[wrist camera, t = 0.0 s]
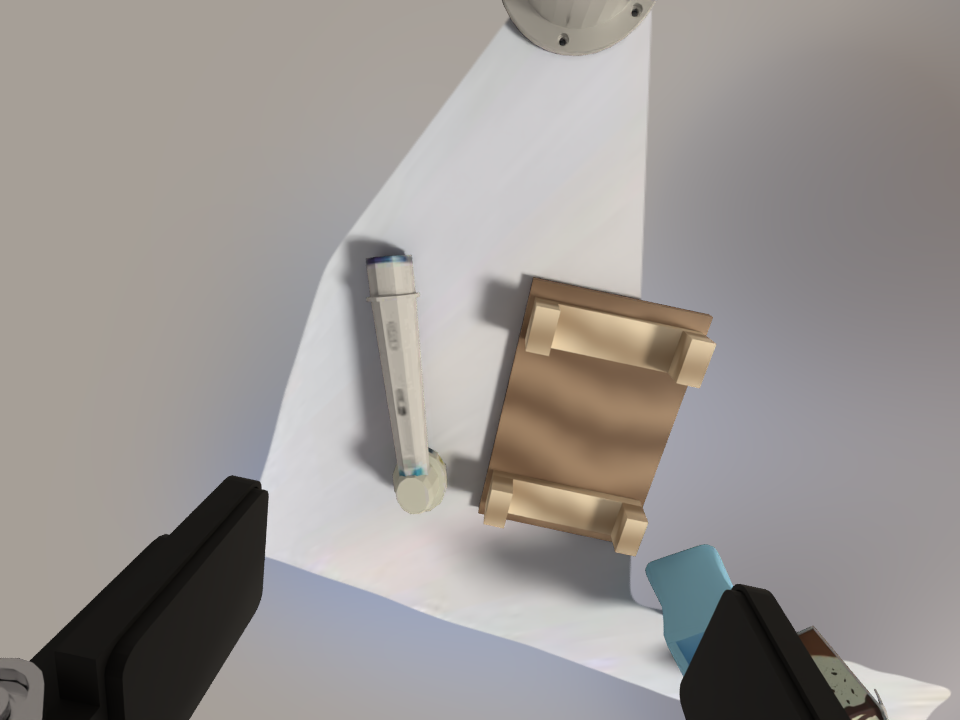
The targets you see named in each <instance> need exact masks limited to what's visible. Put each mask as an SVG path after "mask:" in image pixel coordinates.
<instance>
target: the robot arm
mask: <svg viewBox="0 0 960 720" xmlns="http://www.w3.org/2000/svg"><path fill="white" fill-rule="evenodd" d="M502 2H503V5H504V7H505V9H506V11H507V13H508V15H509V16H510V18H511V20H512V22H513V23H514V24H515V25H516V27H517V28H518V29H519V30H520V32H521V33H522V34H523V35H524V36H526V37H527V38H528V39H529V40H530V41H532V42H533V43H534V44H536V45H538V46H539V47H541V48H543V49H545V50H547V51H549V52H553V53H557V54H561V55H568V56H582V55H588V54H594V53H597V52H600V51H602V50H605V49H607V48H610V47H612V46H613V45H615V44H616V43H618V42H619V41H621V40H623V39H624V38H626V37H627V36H628V35H629V34H630V33H631V32H632V31H633V30H634V29H635V28H636V27H638V26H639V24H640V23H641V22H642V21H643V19H644V18H645V17H646V16H647V14H648V13H649V11H650V10H651V8H652V7H653V5H654V4H655V2H656V0H502ZM634 10H635V11H636V12H637V16H636V17H633V16H632V15H631V12H632V11H634ZM561 39H564V40H565V41H566V44H565V45H564V46H561V45H560V44H559V41H560V40H561ZM268 498H269V496H268V491H266V490H262V488H261V483H260V482H259V481H256V480H251V479H246V478H242V477H237V476H233V475H232V476H229V477H227V478H226V479H225V480H224V481H223V482H222V483H221V484H220V485H219V486H218V487H217V488H216V489H215V490H214V491H213V492H212V493H211V494H210V495H209V496H208V497H207V498H206V499H205V500H204V501H203V502H202V503H201V504H200V505H199V506H198V507H197V508H196V509H195V510H194V511H193V512H192V513H191V514H190V515H189V516H188V517H187V518H186V519H185V520H184V521H183V522H182V523H181V524H180V525H179V526H178V527H177V528H176V529H175V530H174V531H173V532H172V533H171V534H170V535H168V534H164V535H162V536H159V537H158V538H157V539H155V540H154V541H153V542H152V543H151V544H150V545H149V546H147V547H146V548H145V549H144V550H143V551H142V552H141V553H140V554H139V555H138V556H137V557H136V558H135V559H134V560H133V561H132V562H131V563H130V564H129V565H128V566H127V567H126V568H125V569H124V570H123V571H122V572H121V573H120V574H119V575H118V576H117V577H116V578H114V579H113V580H112V581H111V583H109V584H108V585H107V586H106V587H105V588H104V589H103V590H102V591H101V592H100V593H99V594H98V595H97V596H96V597H95V598H94V599H93V600H92V601H91V602H90V603H89V604H88V605H87V606H86V607H85V608H84V609H83V610H82V611H80V613H78V614H77V615H76V616H75V617H74V618H73V619H72V620H71V621H70V622H69V623H68V624H67V625H66V626H65V627H64V628H63V629H62V630H61V631H60V632H59V633H58V634H57V635H56V636H55V637H54V638H53V639H52V640H51V641H50V642H49V643H48V644H47V645H46V646H44V647H43V648H42V649H41V650H40V652H38V653H37V654H36V655H35V656H34V657H33V658H32V659H31V660H30V661H26V660H23V659H20V658H0V720H189V719H190V718H191V716H192V714H193V713H194V711H195V709H196V708H197V706H198V705H199V703H200V701H201V700H202V698H203V696H204V695H205V693H206V692H207V690H208V688H209V687H210V685H211V684H212V682H213V680H214V679H215V677H216V675H217V674H218V672H219V671H220V669H221V667H222V666H223V664H224V662H225V661H226V659H227V658H228V656H229V654H230V653H231V651H232V649H233V648H234V646H235V645H236V643H237V641H238V640H239V638H240V636H241V635H242V633H243V632H244V630H245V628H246V627H247V625H248V623H249V622H250V620H251V619H252V617H253V615H254V614H255V612H256V610H257V608H258V606H259V603H260V600H261V597H262V591H263V575H264V560H265V545H266V529H267V513H268ZM680 702H681V705H682V709H683V712H684V715H685V718H686V720H851V719H850V718H849V716H848V715H847V713H846V711H845V710H844V708H843V706H842V705H841V703H840V702H839V700H838V698H837V697H836V695H835V694H834V692H833V690H832V689H831V687H830V686H829V684H828V682H827V681H826V679H825V678H824V676H823V674H822V673H821V671H820V670H819V668H818V666H817V665H816V663H815V662H814V660H813V658H812V657H811V655H810V654H809V652H808V650H807V649H806V647H805V646H804V644H803V642H802V641H801V639H800V637H799V636H798V634H797V633H796V631H795V629H794V628H793V626H792V625H791V623H790V621H789V620H788V618H787V617H786V616H785V614H784V612H783V610H782V609H781V607H780V605H779V604H778V602H777V601H776V599H775V597H774V596H773V595H772V593H771V592H769V591H768V590H766V589H761V588H756V587H752V586H747V585H742V584H736V585H735V586H733V587H732V589H731V590H725V591H724V592H723V594H722V596H721V598H720V600H719V602H718V605H717V607H716V609H715V611H714V613H713V615H712V617H711V619H710V622H709V624H708V626H707V628H706V630H705V632H704V634H703V636H702V639H701V641H700V643H699V645H698V647H697V649H696V651H695V654H694V656H693V658H692V660H691V662H690V664H689V666H688V668H687V671H686V673H685V675H684V677H683V679H682V681H681V684H680Z"/></svg>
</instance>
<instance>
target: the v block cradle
mask: <svg viewBox="0 0 960 720" xmlns="http://www.w3.org/2000/svg"><path fill="white" fill-rule="evenodd" d="M712 319H713V317H712V316H710V315H709V314H704V313H699V312H694V311H690V310H685V309H680V308H676V307H671V306H667V305H662V304H657V303H652V302H648V301H643V300H638V299H634V298H629V297H624V296H619V295H615V294H610V293H605V292H601V291H596V290H591V289H587V288H582V287H577V286H572V285H568V284H563V283H558V282H554V281H549V280H544V279H539V278H535V277H533V281H532V285H531V290H530V294H529V298H528V302H527V306H526V311H525V315H524V319H523V323H522V328H521V332H520V336H519V340H518V344H517V349H516V353H515V357H514V361H513V366H512V370H511V374H510V378H509V382H508V387H507V391H506V395H505V399H504V404H503V408H502V412H501V416H500V420H499V425H498V429H497V433H496V437H495V442H494V446H493V450H492V454H491V458H490V463H489V467H488V471H487V475H486V480H485V484H484V488H483V492H482V497H481V501H480V505H479V511H478V513H479V514H484V524H486V525H491V526H495V527H500V528H504V526H505V522H506V519H507V520H512V521H517V522H521V523H526V524H531V525H535V526H540V527H545V528H549V529H554V530H559V531H564V532H568V533H573V534H578V535H582V536H587V537H592V538H596V539H601V540H606V541H610V542H613V546H614V549H615V552H617V553H621V554H626V555H631V556H636V554H637V551H638V549H639V546H640V543H641V541H642V538H643V535H644V533H645V530H646V528H647V525H648V521H647V518H646V516H645V513H644V511H643V505H644V502H645V499H646V497H647V494H648V491H649V489H650V486H651V483H652V481H653V478H654V475H655V472H656V470H657V467H658V464H659V462H660V459H661V456H662V454H663V451H664V448H665V445H666V443H667V440H668V437H669V435H670V432H671V429H672V427H673V424H674V421H675V419H676V416H677V413H678V410H679V407H680V405H681V402H682V400H683V397H684V394H685V392H686V389H687V386H691V387H696V388H700V385H701V383H702V380H703V378H704V375H705V373H706V370H707V367H708V365H709V362H710V359H711V356H712V354H713V351H714V349H715V346H716V343H714V342H713V341H712V340H711V339H709V338H708V337H707V336H706V335H707V332H708V329H709V327H710V324H711V321H712Z"/></svg>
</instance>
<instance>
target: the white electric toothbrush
mask: <svg viewBox="0 0 960 720" xmlns="http://www.w3.org/2000/svg"><path fill="white" fill-rule="evenodd" d="M366 264H367V273H368V281H369V289H370V297H367V298H366V299H367V302H371V305H372V311H373V317H374V323H375V329H376V335H377V342H378V348H379V354H380V360H381V366H382V372H383V378H384V385H385V391H386V397H387V403H388V409H389V415H390V422H391V428H392V434H393V440H394V446H395V452H396V459H397V465H396V467H395V470H394V473H393V483H394V491H395V493H396V497H397V501H398V503H399V504H400V506H401V508H402V509H403V510H404V511H406V512H408V513H410V514H421V513H423V512H424V511H431V510H432V509H433V508H435V507H436V506H437V505H439V504H440V503H441V501H442V499H443V496H444V494H445V491H446V489H447V474H446V464H444V462H443V461H442V459H441V458H440V456H439V454H438V452H436V451H434V450H432V449H430V448H428V441H427V428H426V416H425V403H424V390H423V378H422V365H421V353H420V340H419V327H418V315H417V302H416V298H417V297H420V293H416V291H415V282H414V272H413V262H412V255H398V256H384V257H373V258H366Z"/></svg>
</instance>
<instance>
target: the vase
mask: <svg viewBox="0 0 960 720" xmlns="http://www.w3.org/2000/svg"><path fill="white" fill-rule="evenodd" d="M645 571H646V575H647V577H648V580H649V582H650V584H651V586H652V588H653V590H654V592H655V594H656V596H657V598H658V600H659V602H660V604H661V606H662V610H663V622H664V637H665V640H666V643H667V646H668V648H669V650H670V652H671V653H672V655H673V657H674V659H675V661H676V663H677V665H678V667H679V669H680V671H681V673H682V675H683V677H684V675H685V673H686V671H687V668H688V666H689V664H690V662H691V660H692V658H693V656H694V654H695V651H696V649H697V647H698V645H699V643H700V641H701V639H702V636H703V634H704V632H705V630H706V628H707V626H708V624H709V622H710V619H711V617H712V615H713V613H714V611H715V609H716V607H717V605H718V602H719V600H720V598H721V596H722V594H723V592H724V591H725V590H731V589H732V587H733V585H732V583H731V581H730V578H729V576H728V574H727V572H726V569H725V567H724V565H723V562H722V560H721V558H720V556H719V554H718V552H717V550H716V549H715V548H714V547H713V546H710V545H705V544H704V545H700V546H696V547H693V548H690V549H687V550H684V551H681V552H678V553H675V554H672V555H669V556H666V557H663V558H660V559H658V560H655V561H652V562H650V563H648V565H647V567H646V570H645Z"/></svg>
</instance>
